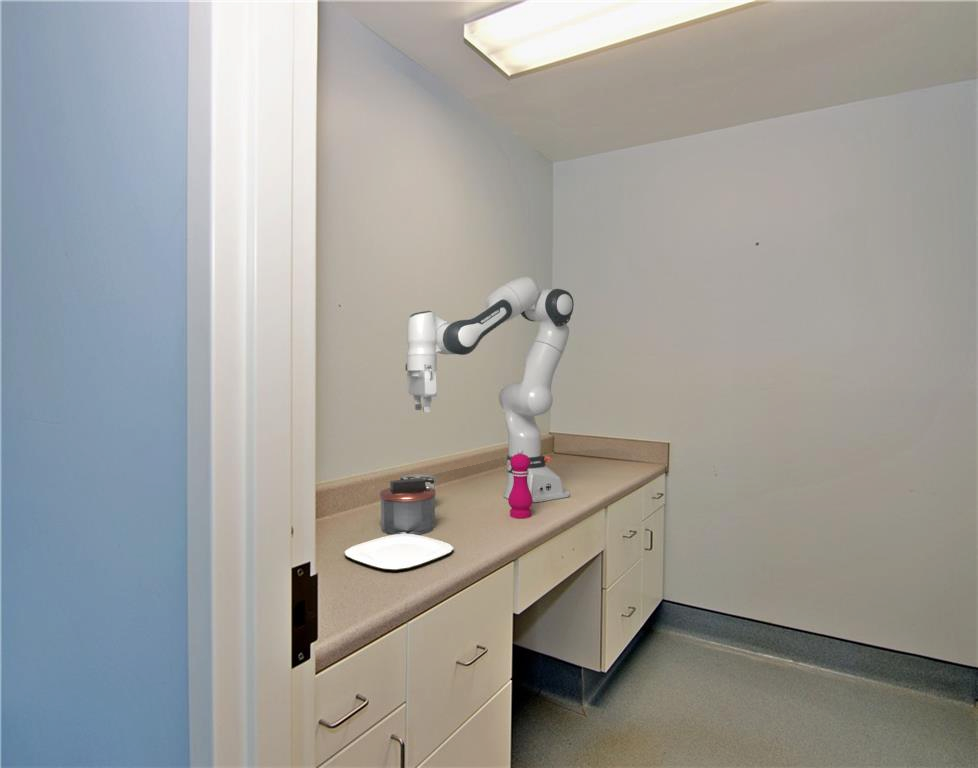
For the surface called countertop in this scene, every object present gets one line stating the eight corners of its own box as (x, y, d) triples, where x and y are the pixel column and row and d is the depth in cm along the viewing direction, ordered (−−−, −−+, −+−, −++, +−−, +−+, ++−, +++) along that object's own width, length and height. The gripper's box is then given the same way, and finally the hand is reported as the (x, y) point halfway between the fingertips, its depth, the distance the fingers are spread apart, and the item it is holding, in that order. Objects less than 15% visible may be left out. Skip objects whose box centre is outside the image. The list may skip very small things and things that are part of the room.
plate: (403, 536, 147) (403, 530, 147) (464, 553, 133) (464, 546, 133) (333, 558, 130) (333, 551, 130) (394, 580, 116) (394, 572, 116)
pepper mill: (515, 511, 170) (515, 446, 170) (536, 514, 166) (536, 448, 166) (503, 516, 164) (503, 449, 163) (525, 520, 160) (525, 451, 160)
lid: (427, 488, 162) (426, 473, 162) (442, 499, 148) (442, 483, 148) (375, 492, 156) (375, 477, 156) (386, 504, 142) (386, 488, 142)
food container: (440, 505, 179) (440, 474, 178) (436, 510, 173) (436, 477, 172) (402, 504, 180) (402, 473, 180) (397, 509, 174) (397, 477, 174)
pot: (419, 512, 169) (418, 483, 169) (440, 532, 149) (440, 499, 148) (372, 517, 164) (372, 487, 164) (388, 538, 143) (387, 503, 143)
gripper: (442, 364, 159) (442, 413, 159) (423, 365, 178) (423, 408, 178) (420, 364, 156) (421, 413, 157) (403, 365, 175) (404, 409, 176)
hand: (422, 411), depth 168 cm, fingers open, 8 cm apart
